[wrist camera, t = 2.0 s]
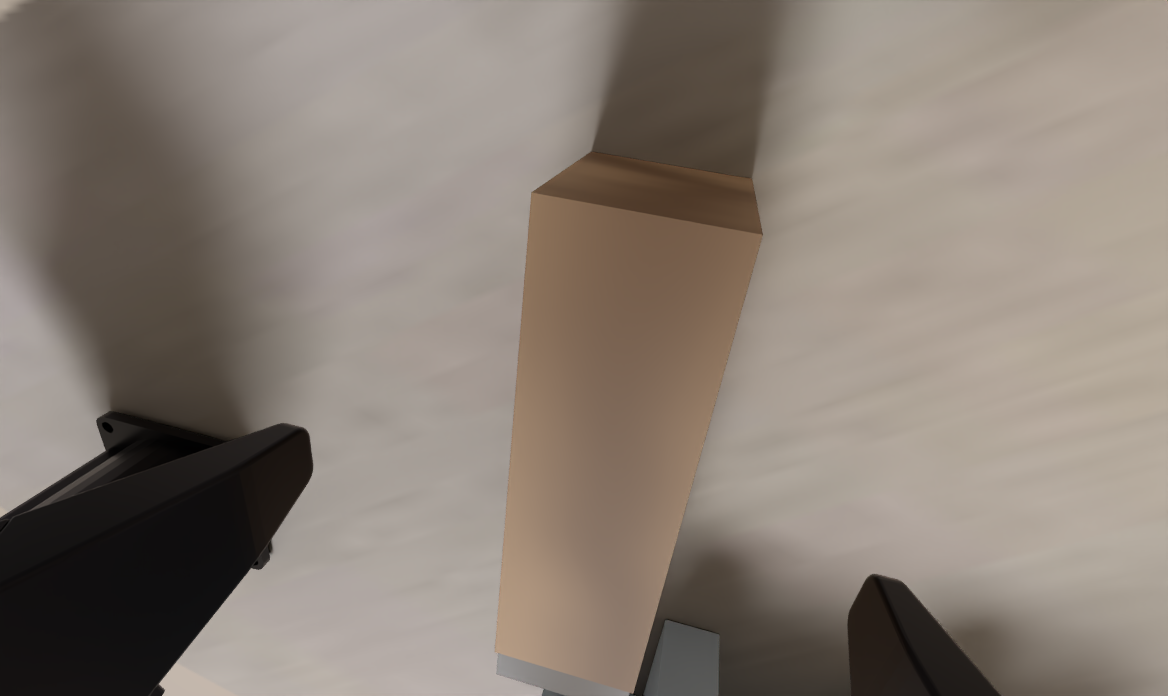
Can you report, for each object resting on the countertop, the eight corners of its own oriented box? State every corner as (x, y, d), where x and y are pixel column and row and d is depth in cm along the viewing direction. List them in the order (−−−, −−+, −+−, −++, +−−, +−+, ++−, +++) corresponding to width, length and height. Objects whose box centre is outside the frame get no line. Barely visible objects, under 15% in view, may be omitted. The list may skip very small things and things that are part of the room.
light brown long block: (542, 545, 21) (493, 673, 17) (591, 151, 14) (531, 192, 10) (649, 574, 20) (627, 714, 16) (752, 178, 14) (762, 234, 9)
